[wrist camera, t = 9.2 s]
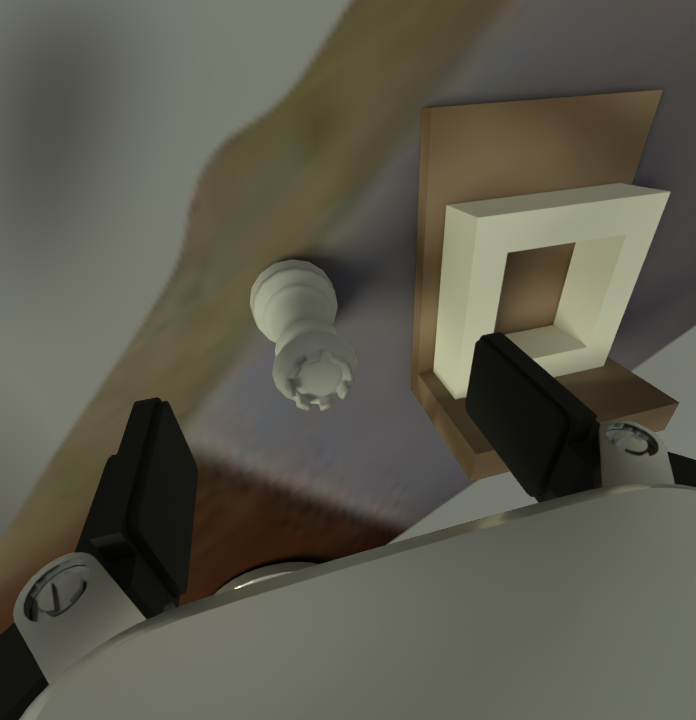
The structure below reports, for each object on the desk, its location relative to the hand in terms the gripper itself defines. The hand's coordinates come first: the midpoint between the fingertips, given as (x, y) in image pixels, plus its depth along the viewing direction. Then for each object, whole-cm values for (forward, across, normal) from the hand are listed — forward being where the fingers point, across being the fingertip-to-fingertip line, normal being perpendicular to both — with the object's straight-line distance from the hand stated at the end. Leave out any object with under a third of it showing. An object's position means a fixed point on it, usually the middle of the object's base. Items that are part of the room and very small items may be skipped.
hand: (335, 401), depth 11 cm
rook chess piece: (+10, 0, +1) cm, 10 cm away
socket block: (+9, -13, +2) cm, 16 cm away
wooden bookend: (+10, -13, +1) cm, 16 cm away
